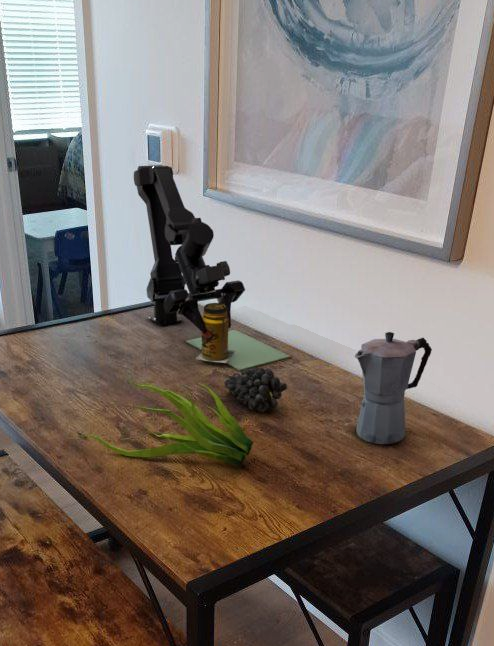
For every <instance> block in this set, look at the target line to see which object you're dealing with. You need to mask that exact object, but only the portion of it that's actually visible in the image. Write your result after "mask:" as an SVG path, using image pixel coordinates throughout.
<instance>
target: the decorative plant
mask: <svg viewBox="0 0 494 646" xmlns="http://www.w3.org/2000/svg"><path fill="white" fill-rule="evenodd" d="M117 368H118V370H119V371H120V372H121V374H123V376H124V377H125V379H127V380H128V381H129V382H130V383H131V384H132V385H134V386H136V387H138V388H142V389H147V390H151V391H154V392H156V393H157V394H160V395H162V396H163V397H165V398H166V399H167V400H168V401H169V402H170V403H171V404H172V405H173V406H174V407H176V409H177V410H178V411H179V412H180V413H181V415H182V416H183V418H182V417H181V416H179V415H177V414H176V413H174V412H172V410H170V409H162V408H152V407H151V408H149V407H144V406H139V405H132V404H128V403H125V402H121V401H118V403H119V404H123V405H126V406H131V407H134V408H138V409H141V410H145V411H149V412H153V413H159V414H165V415H168V416H169V417H170V418H172V419H173V420H174V421H175V422H176V423H177V424H179V425H180V426H181V427H182V428H183V429H184V430H185V431H186V432H187V433H188V434H189V435H182V434H181V435H180V434H171V433H163V434H161V435H158V434H157V433H155V432H153V431H152V430H150V429H149V428H147V426H145V425H144V424H143V427H145V429H147V430H148V431H149V432H150V433H151V434H153V435H154V436H156V437H158V438H160V439H161V438H165V439H167V440H169V441H172V442H174V443H170V444H165V445H161V446H156V447H153V448H145V449H137V450H135V449H134V450H125V449H123V448H120V447H117V446H114V445H111V444H110V443H108V442H107V441H105V440H104V439H102V438H100V437H99V436H96V435H92V434H79V435H77V437H90V438H93V439H95V440H97V441H99V442H100V443H101V444H102V445H103V446H105V447H106V448H107V449H109V450H111V451H114V452H115V453H118V454H120V455H123V456H125V457H135V458H136V457H137V458H147V459H148V458H150V459H153V458H160V457H165V456H172V455H184V454H198V455H201V456H205V457H208V458H210V459H212V460H215V461H219V462H223V463H228V464H231V465H233V466H235V467H238V468H240V467H242V464H243V463H244V461H245V459H246V458H247V456H248V455H250V453H251V451H252V448H253V447H252V446H253V444H254V441H253V440H252V439H250V438H249V437H248V436H247V435H246V434H245V432H244V430H243V429H242V428H241V426H240V425H239V423H238V421H237V420H236V418H235V417H234V415H232V414H230V412H229V411H228V409H227V408H226V406H225V405H224V403H223V401H222V400H221V399H220V398H219V397H218V395H217V394H216V393H215V392H214V391H213V390H212V389H211V388H210V387H209V386H207V385H204V384H202V383H200V382H199V381H198V380H196V379H195V377H192V378H193V379H194V381H195V382H196V384H198V385H200V386H202V387H203V388H205V389H206V390H208V392H209V393H210V394H211V396H212V397H213V399H214V401H215V404H216V407H217V410H218V411H217V410H216V409H214V407H210V406H208V405H205V404H204V403H203V402H201V404H202V405H204V406H205V407H207V408H209V409H211V410H212V411H213V412H214V413H215V414H216V416H217V417H218V418H219V421H220V424H221V425H222V426H223V428H224V429H225V430H226V431H225V430H223V429H222V428H220V427H217V426H216V425H215V424H214V423H213V422H211V421H210V420H209V419H208V417H206V415H205V414H204V412H203V411H202V410H201V409H200V408H199V407H198V406H197V405H195V403H194V399H193V397H192V396H191V394H189V392H188V391H185V390H184V389H182V388H180V387H179V386H177V388H178V389H179V390H181V391H183V392H184V393H185V394H186V395H188V397H189V399H190V401H189V400H188V399H186V398H185V397H183V396H182V395H180V394H177V393H175V392H173V391H171V390H169V389H160V388H158V387H156V386H153V385H152V384H150V383H148V382H147V381H145V380H144V378H142V382H143V383H145V384H139V383H136V382H134V381H132V380H131V379H130V378H129V377H128V376H127V375H126V374H125V373H124V372H123V371H122V369H121V368H120V367H119V366H118V365H117ZM75 437H76V435H74V436H69V437H67V438H65V440H68V439H71V438H75Z"/></svg>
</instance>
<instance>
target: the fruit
mask: <svg viewBox="0 0 494 646" xmlns="http://www.w3.org/2000/svg"><path fill="white" fill-rule="evenodd" d="M224 388H225V389H228V393H229V394H230V395H231V396H234V397H236V401H237V402H238V403H241V404H243V405H244V406H246V407H247V406H248V408H249V410H250V411H253V412H256V411H257V412H259V413H264V412H266V411H267V410H268V409H269V408H270V409H273V410H274V409H276V408H278V406H279V402H278V400H280V399H281V398H282V395H283V394H282V392H284V391H286V390H287V388H288V385H287V383H286V382H284V381H281V379H280V378H279V377H278V376H275V373H274V370H272V369H271V368H264V367H258V366H255V367H252V368H247V369H244V370H241V373H238V372H237V373H233V374H232V376H231V375H229V376H227V377H226V379H225V381H224Z"/></svg>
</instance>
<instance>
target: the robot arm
mask: <svg viewBox="0 0 494 646" xmlns="http://www.w3.org/2000/svg"><path fill="white" fill-rule="evenodd" d="M133 183H134V186H135V187H136V190H137V194H138V196H139V198H140V199H141V200H142V201H143V203H145V205H146V206H145V207H146V212H147V220H148V226H149V232H150V239H151V245H152V252H153V258H154V259H153V260H154V263H153V265H152V268H151V270H150V274H149V275H150V278H149V281H148V283H147V286H146V297H147V299H149V301H151V302H152V303H153V316H152V317H148V318H149V321H151V322H153V323H155V324H157V325H158V326H160V327H164V326H168V325H173V324H178V323H182V322H183V321H182V320H183V319H181V318H179V317H178V315H179V316H180V315H181V316H183V317H184V318H186V320H188V321H189V322H191V323H192V324H193V325H194V326H195V327H196V328H197V329H198V330H199V331H200V332H201V333H202V332H203V333H206V332H207V330H206V327H205V324H204V321H203V319H202V318H203V316H202V315H201V312H200V308H199V303H198V302H204V301H209V300H215V299H216V301H217V303H222V304H224V305H226V306H227V308H228V309H227V317H228V319H229V327H228V330H230V328H231V327H232V315H231V309H232V303H234V302H237V301H238V300H239V299H240V297H241V296H242V295H243V294H244V292H245V291H246V288H245V285H244V283H243V282H242V281H241V280H232V281H226V282H225V283H224V285H223V286H222V287H221V288H218V289H216V287H218V286H219V285H220V281H225V280H226V278H225V277H228V276H230V274H231V268H230V265H229V264H228V261H227V260H223V261H219V262H217V263H216V265H212V266H211V265H210V264H206V262H205V260H204V256H205V255H206V254H207V252H208V249H209V247H210V246H211V244H212V241H213V240H214V237H215V236H214V235H215V234H214V230H213V229H212V227H211V226H209V224H207V223H206V222H203V221H202V218H201V217H195V215H194V213H193V212H192V211H190V210H189V209H187V208H186V207H185V205H184V203H183V202H184V201H183V199H182V197H181V194H180V192H179V189H178V187H177V184H176V182H175V178H174V170H173V168H172V166H169V165H162V164H153V165H151V164H150V165H138V166H137V170H134V171H133ZM172 246H178V248H177V249H176V251H175V254H174V255H175V256H174V257H173V251H172ZM185 287H186V288H187V289H185Z"/></svg>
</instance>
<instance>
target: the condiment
mask: <svg viewBox="0 0 494 646" xmlns="http://www.w3.org/2000/svg"><path fill="white" fill-rule="evenodd" d="M227 309H228V308H227V306H226V305H224V304H222V303H218V302H210V303H207V304H204V306H203V313H202V314H203V316H202V319H203V321H204V324H205V327H206V330H207V332H206V333H203V332H202V331H201V337H202V346H201V347H202V348H201V349H202V350H200V351H201V353H199V354H198V355H197V357H196V358H195V360H200V361H204V362H205V361H206V362H211V363H222V364H226V362H227V361H228V360H229V359H230V358H231V356H232V355H233V354H234V353H235V351H236V350H230V349H228V331H229V329H228V327H229V319H228V317H227Z"/></svg>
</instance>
